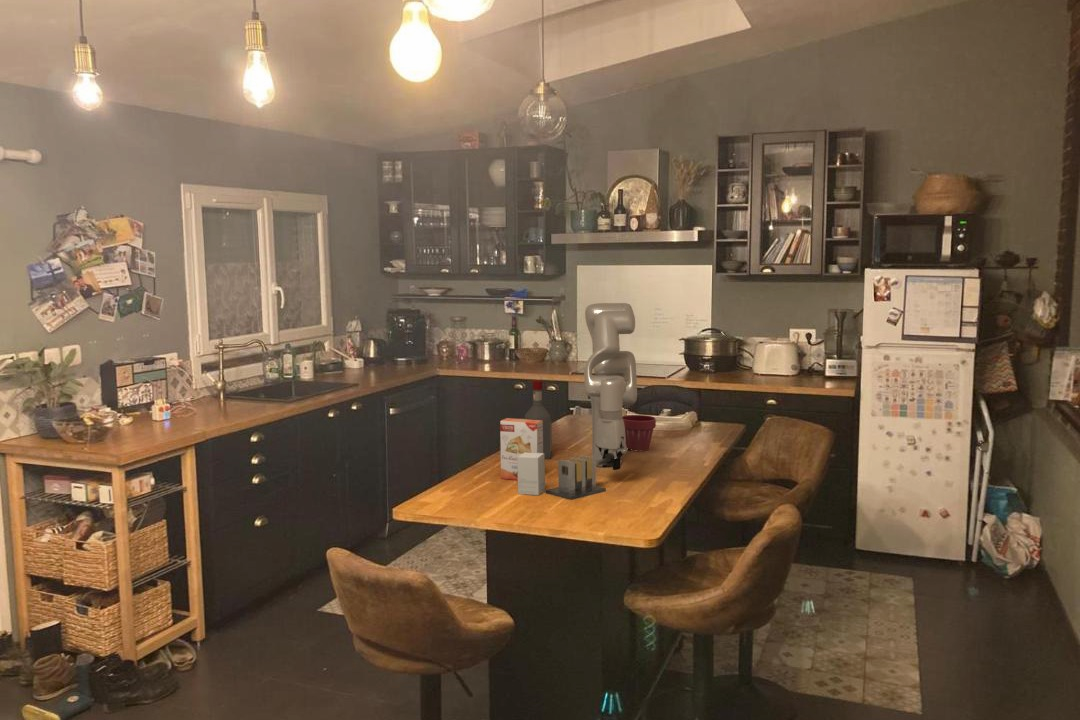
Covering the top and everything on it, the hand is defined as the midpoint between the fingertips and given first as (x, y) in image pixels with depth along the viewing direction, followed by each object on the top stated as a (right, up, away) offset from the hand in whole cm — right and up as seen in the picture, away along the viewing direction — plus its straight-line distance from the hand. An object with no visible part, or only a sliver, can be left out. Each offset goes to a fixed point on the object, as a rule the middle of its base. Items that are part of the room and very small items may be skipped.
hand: (611, 467), depth 304 cm
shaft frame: (-13, -7, -11) cm, 18 cm away
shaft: (-7, 0, -6) cm, 9 cm away
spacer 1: (-14, -2, -12) cm, 19 cm away
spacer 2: (-10, -2, -9) cm, 14 cm away
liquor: (-25, -1, +41) cm, 48 cm away
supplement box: (-27, -7, -11) cm, 30 cm away
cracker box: (-31, -5, +8) cm, 32 cm away
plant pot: (+15, +1, +57) cm, 59 cm away
